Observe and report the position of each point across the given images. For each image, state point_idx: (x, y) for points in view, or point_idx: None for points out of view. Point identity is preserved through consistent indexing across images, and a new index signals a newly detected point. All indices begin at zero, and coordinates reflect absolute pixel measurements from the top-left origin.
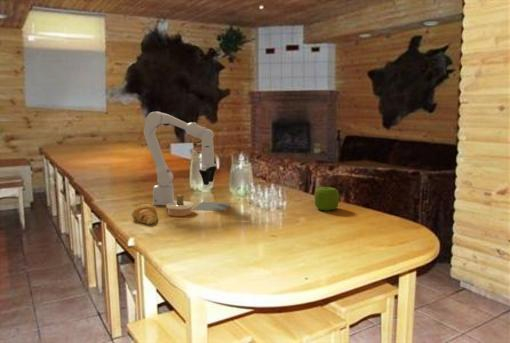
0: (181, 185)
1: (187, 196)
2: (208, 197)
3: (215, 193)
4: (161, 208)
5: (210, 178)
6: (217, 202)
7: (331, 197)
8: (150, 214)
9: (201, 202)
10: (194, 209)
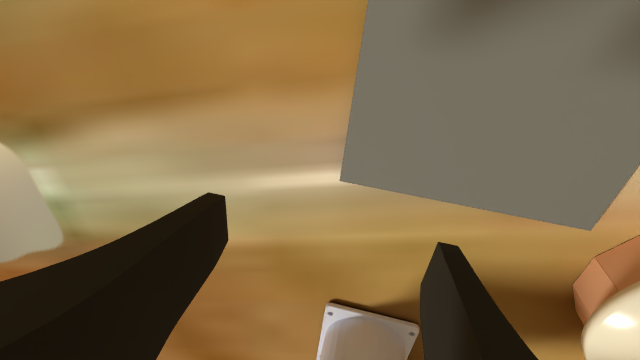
0: None
1: None
2: (179, 147)
3: (55, 110)
4: None
5: (201, 249)
6: (362, 56)
7: None
8: None
9: (362, 184)
10: (595, 218)
